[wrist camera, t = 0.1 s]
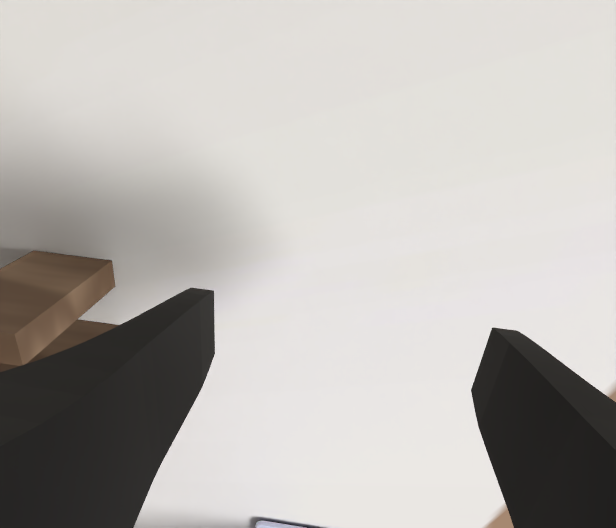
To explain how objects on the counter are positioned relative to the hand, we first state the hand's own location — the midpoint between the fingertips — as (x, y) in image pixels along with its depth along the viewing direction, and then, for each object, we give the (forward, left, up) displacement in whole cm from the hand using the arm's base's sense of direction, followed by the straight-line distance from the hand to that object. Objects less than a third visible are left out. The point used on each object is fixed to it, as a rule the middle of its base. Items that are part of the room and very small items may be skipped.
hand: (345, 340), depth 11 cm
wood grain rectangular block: (-5, +15, -10) cm, 19 cm away
